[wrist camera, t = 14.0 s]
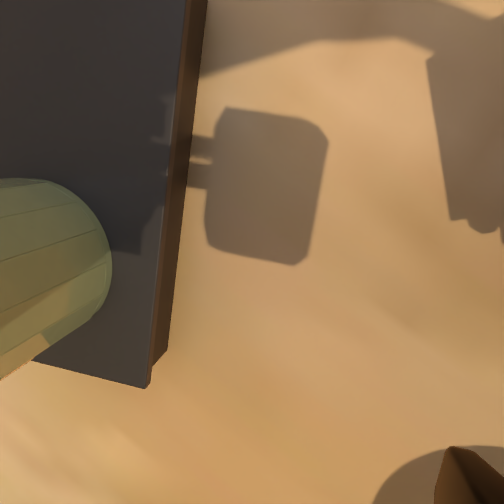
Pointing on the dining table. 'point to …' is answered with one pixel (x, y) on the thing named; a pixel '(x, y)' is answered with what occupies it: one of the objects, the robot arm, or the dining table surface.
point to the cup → (47, 268)
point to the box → (108, 151)
